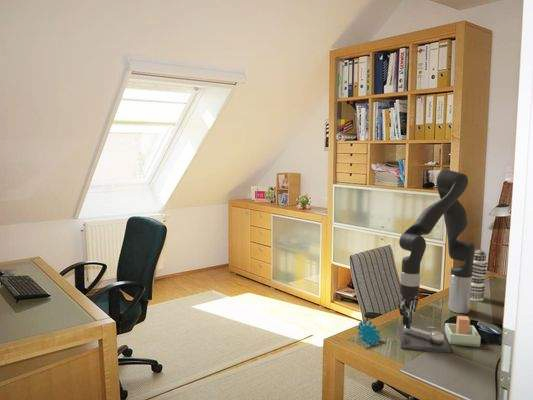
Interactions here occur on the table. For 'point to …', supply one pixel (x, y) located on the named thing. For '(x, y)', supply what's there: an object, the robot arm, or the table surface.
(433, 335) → the crank
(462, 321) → the block
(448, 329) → the tray
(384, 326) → the table surface
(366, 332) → the gear
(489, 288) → the table surface
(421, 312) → the table surface
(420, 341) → the base plate
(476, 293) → the decorative candle
